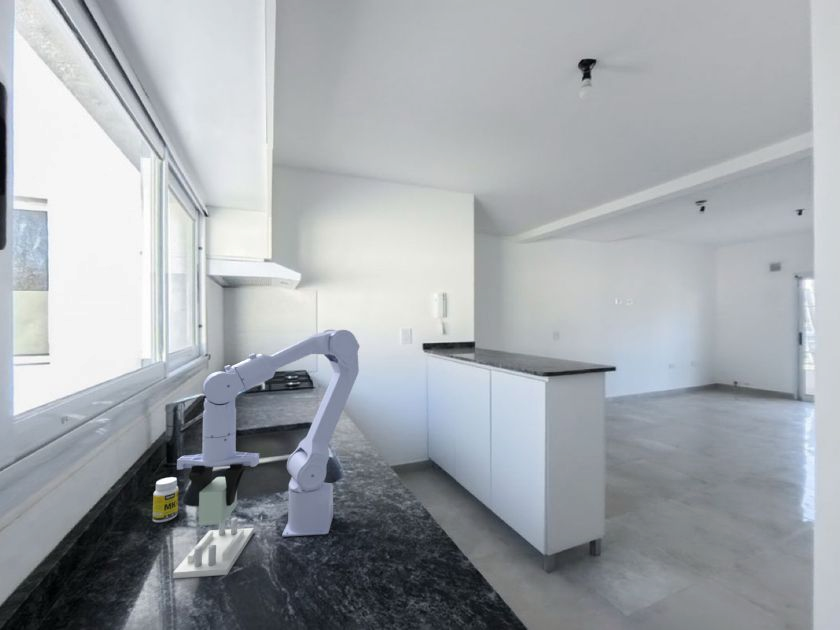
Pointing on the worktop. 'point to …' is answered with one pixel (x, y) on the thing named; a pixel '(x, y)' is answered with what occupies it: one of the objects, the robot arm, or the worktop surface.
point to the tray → (215, 552)
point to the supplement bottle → (165, 500)
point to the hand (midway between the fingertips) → (218, 503)
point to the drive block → (214, 503)
